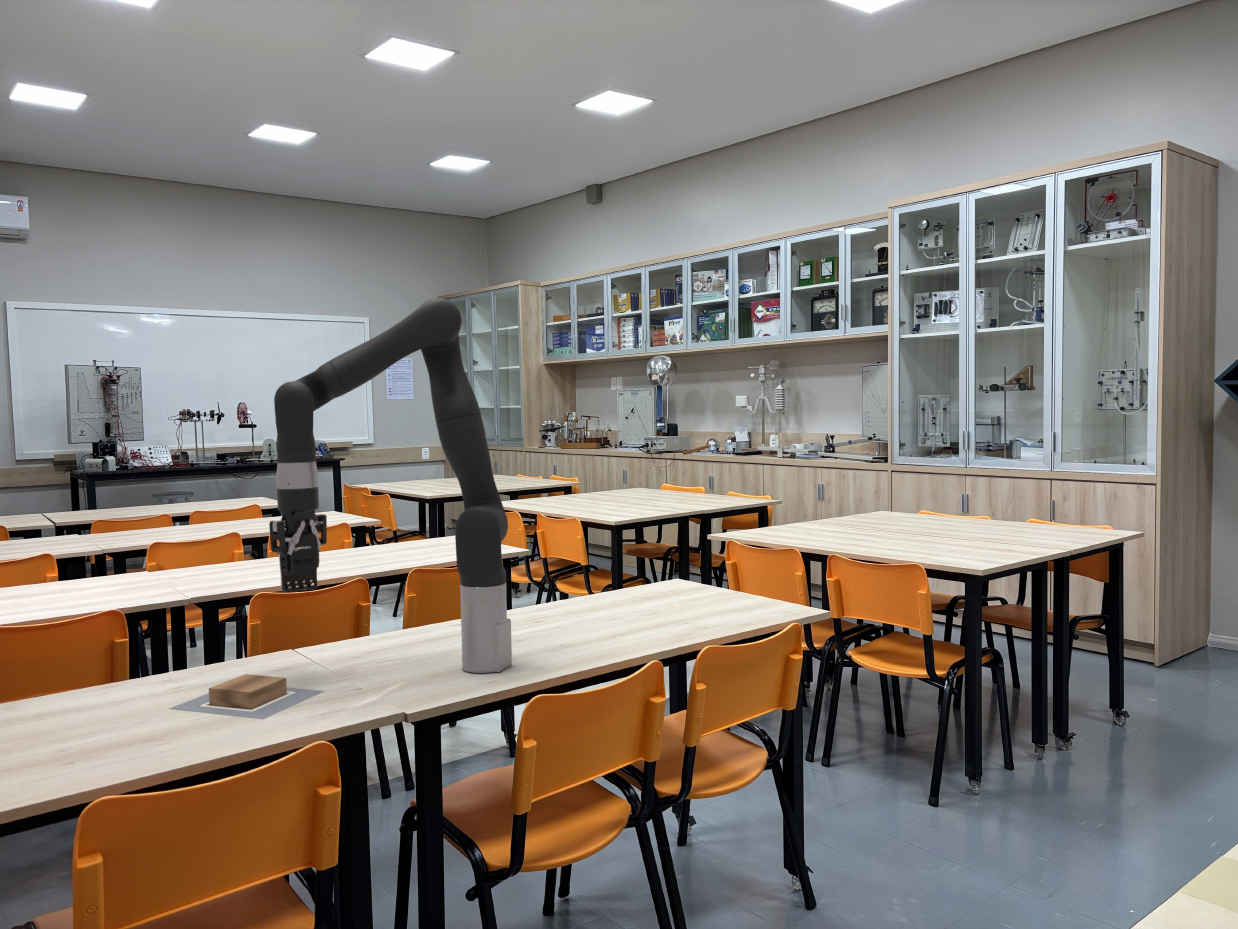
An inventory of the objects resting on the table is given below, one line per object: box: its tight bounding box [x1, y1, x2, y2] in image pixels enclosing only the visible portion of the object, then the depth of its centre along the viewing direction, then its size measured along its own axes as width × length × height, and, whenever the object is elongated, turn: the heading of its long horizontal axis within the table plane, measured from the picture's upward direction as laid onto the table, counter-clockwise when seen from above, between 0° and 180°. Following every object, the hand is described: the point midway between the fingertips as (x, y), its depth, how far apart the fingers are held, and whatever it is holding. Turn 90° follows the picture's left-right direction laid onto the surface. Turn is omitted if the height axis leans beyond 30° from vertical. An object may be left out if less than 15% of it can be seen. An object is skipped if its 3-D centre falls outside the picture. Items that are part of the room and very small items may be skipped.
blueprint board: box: [168, 686, 325, 720], centre depth 155 cm, size 20×16×1 cm
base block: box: [208, 673, 288, 709], centre depth 155 cm, size 9×9×3 cm
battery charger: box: [278, 532, 319, 593], centre depth 168 cm, size 7×4×11 cm, turn 122°
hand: (300, 570), depth 168 cm, fingers closed on battery charger, 7 cm apart
